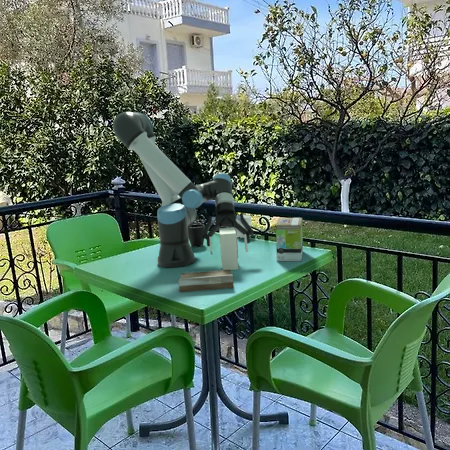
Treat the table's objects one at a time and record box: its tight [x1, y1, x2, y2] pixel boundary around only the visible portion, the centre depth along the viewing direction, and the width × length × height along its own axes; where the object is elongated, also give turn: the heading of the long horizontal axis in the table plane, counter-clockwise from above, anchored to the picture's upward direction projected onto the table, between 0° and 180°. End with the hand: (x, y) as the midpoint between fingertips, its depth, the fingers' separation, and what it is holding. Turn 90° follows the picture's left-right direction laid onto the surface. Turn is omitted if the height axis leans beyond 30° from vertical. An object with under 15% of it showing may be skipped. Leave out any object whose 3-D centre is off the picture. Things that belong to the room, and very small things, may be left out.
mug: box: [188, 223, 206, 248], centre depth 209 cm, size 8×12×10 cm
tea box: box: [275, 217, 304, 262], centre depth 179 cm, size 15×10×15 cm, turn 168°
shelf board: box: [178, 269, 234, 293], centre depth 155 cm, size 14×18×4 cm
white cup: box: [235, 214, 252, 239], centre depth 219 cm, size 8×8×10 cm
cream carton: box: [218, 226, 239, 271], centre depth 172 cm, size 6×11×14 cm, turn 2°
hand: (229, 251), depth 170 cm, fingers open, 13 cm apart
